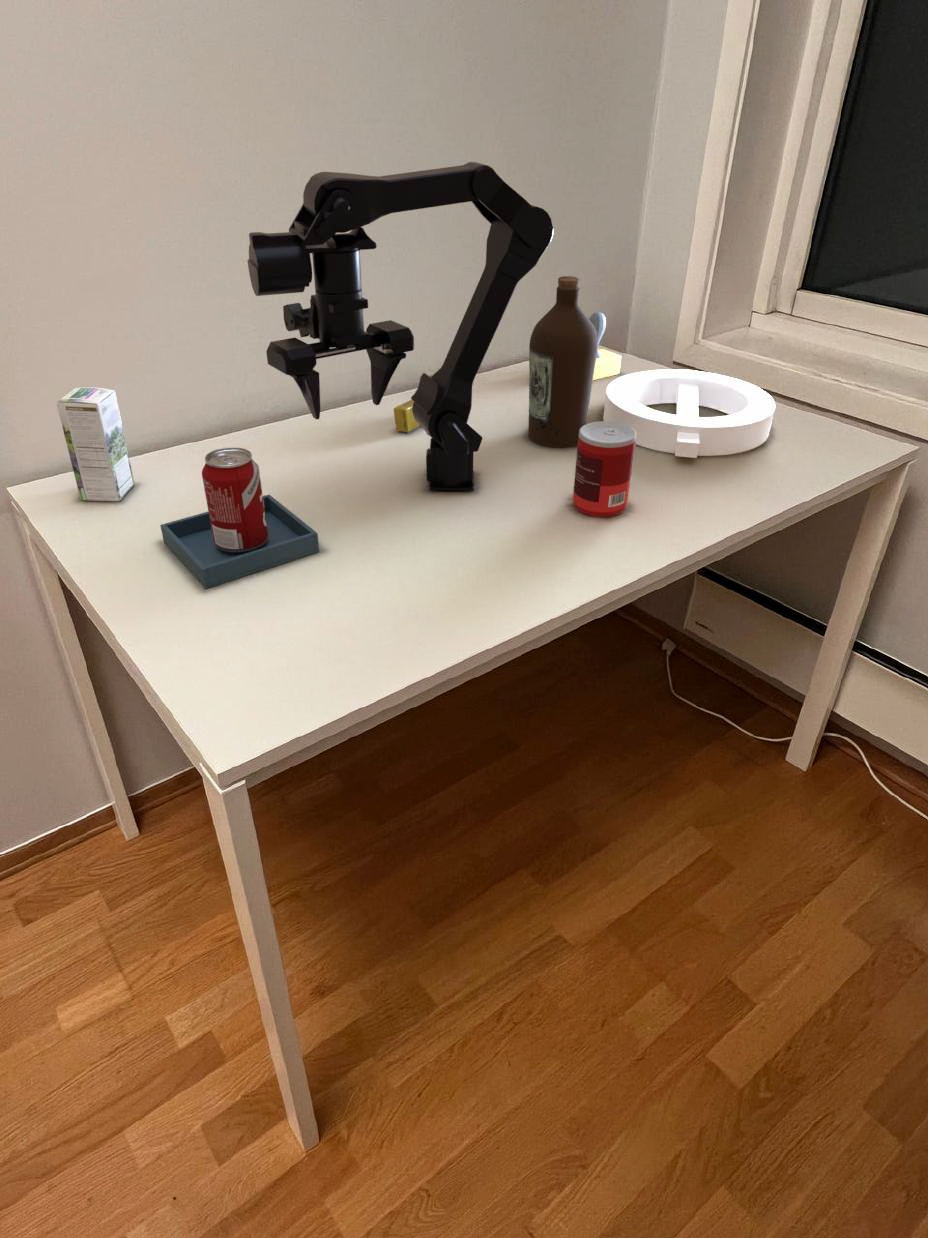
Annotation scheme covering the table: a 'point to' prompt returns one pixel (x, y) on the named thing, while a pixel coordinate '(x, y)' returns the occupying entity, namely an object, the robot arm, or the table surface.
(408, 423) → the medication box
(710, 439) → the ring with crossbar
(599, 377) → the rubber stamp
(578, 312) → the olive oil
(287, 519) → the tray
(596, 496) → the canned food
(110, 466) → the syrup box
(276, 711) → the table surface
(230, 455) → the soda can
